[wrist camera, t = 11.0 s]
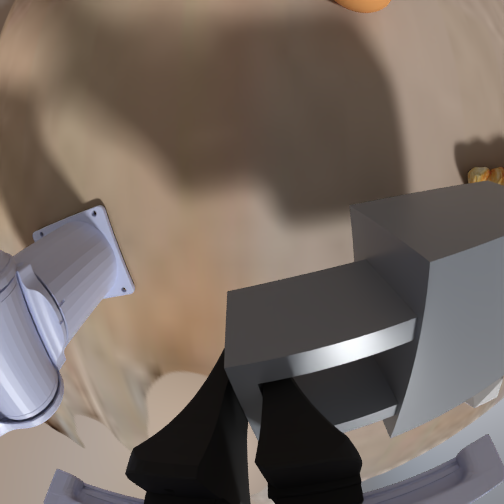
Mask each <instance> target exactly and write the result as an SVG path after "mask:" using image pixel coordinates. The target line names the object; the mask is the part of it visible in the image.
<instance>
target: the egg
mask: <svg viewBox="0 0 504 504" xmlns="http://www.w3.org/2000/svg"><path fill="white" fill-rule="evenodd" d="M335 1H336V2H337V3H338V4H340V5H341V6H343V7H345V8H347V9H349V10H352V11H355V12H360V13H371V12H376V11H379V10H381V9H383V8H384V7H386V6H387V5H388V4H389V3H390V1H391V0H335Z"/></svg>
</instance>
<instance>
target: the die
mask: <svg viewBox="0 0 504 504" xmlns="http://www.w3.org/2000/svg"><path fill="white" fill-rule="evenodd" d="M503 376H504V375H503ZM503 376H502V377H501V378H499V379H498V380H497V381H495V382H494V383H492V384H491V385H489V386H488V387H487V388H485V389H484V390H482V391H481V392H479V393H478V394H476V395H474V396H473V397H471V398H470V399H468V400H466V401H465V403H466V404H468V405H470V406H472V407H473V408H476V407H478V406H480V405H482V404H484V403H486V402H488V401H490V400H492V399H494V398H496V397H497V395H498V392H499V389H500V386H501V383H502V380H503Z"/></svg>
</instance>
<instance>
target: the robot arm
mask: <svg viewBox="0 0 504 504" xmlns="http://www.w3.org/2000/svg"><path fill="white" fill-rule="evenodd" d="M94 211H96V214H97V215H95V214H94ZM42 233H43V234H42ZM33 239H34V243H33V244H31V245H29V246H28V247H26V248H25V249H23V250H22V251H20V252H19V253H17V254H16V255H14V256H12V255H10V254H8V253H5V252H4V251H2V250H0V436H2V435H4V434H5V433H7V432H9V431H11V430H15V429H22V428H31V427H35V426H37V425H40V424H42V423H43V422H45V421H46V420H48V419H49V418H50V417H51V416H52V415H53V414H54V413H55V411H56V410H57V409H58V407H59V405H60V403H61V401H62V398H63V394H64V383H63V379H62V376H61V374H60V372H59V370H60V368H61V367H62V365H63V364H64V362H65V361H66V358H65V355H64V349H65V347H66V346H67V344H68V343H69V342H70V340H71V339H72V338H73V336H74V335H75V334H76V332H77V331H78V330H79V328H80V327H81V326H82V324H83V323H84V322H85V320H86V319H87V318H88V317H89V315H90V314H91V313H92V311H93V310H94V309H95V308H96V306H97V305H98V304H99V303H100V301H101V300H102V299H104V298H110V297H116V296H121V295H127V294H131V293H133V292H134V290H135V286H134V284H133V282H132V279H131V277H130V275H129V272H128V270H127V267H126V265H125V262H124V260H123V257H122V255H121V252H120V249H119V247H118V244H117V241H116V239H115V236H114V233H113V230H112V228H111V225H110V222H109V219H108V216H107V213H106V210H105V208H104V207H103V206H102V205H98V206H95V207H93V208H90V209H87V210H85V211H82V212H80V213H77V214H75V215H72V216H70V217H67V218H65V219H62V220H60V221H58V222H55V223H53V224H51V225H48V226H46V227H44V228H42V229H39V230H37V231H35V232H34V233H33ZM123 287H124V288H125V289H126V290H124V289H123ZM224 356H225V348H224V350H223V352H222V354H221V356H220V357H219V359H218V361H217V363H216V365H215V366H214V368H213V370H212V371H211V373H210V375H209V376H208V378H207V380H206V381H205V382H204V384H203V385H202V387H201V388H200V390H199V391H198V392H197V394H196V395H195V396H194V398H193V399H192V400H191V401H190V402H189V404H188V405H187V406H186V407H185V408H184V409H183V410H182V411H181V412H180V413H179V414H178V415H177V416H176V417H175V418H174V419H173V420H172V421H171V422H170V423H169V424H168V425H167V426H165V427H164V428H163V429H162V430H160V431H159V432H158V433H156V434H155V435H154V436H152V437H151V438H149V439H148V440H146V441H144V442H143V443H141V444H140V445H138V446H136V447H135V448H133V451H132V453H131V456H130V459H129V462H128V466H127V469H126V473H125V474H126V476H127V477H128V479H130V480H131V481H132V482H133V483H135V484H136V485H138V486H139V487H141V488H142V489H144V490H145V491H146V495H145V500H143V499H138V498H134V497H130V496H125V495H122V494H118V493H115V492H111V491H108V490H104V489H101V488H98V487H95V486H92V485H89V484H86V483H84V482H83V481H81V480H80V479H79V478H77V477H76V476H74V475H72V474H70V473H67V472H65V471H62V470H60V469H57V470H56V472H55V474H54V477H53V479H52V482H51V484H50V487H49V489H48V492H47V494H46V497H45V500H44V504H250V493H249V479H248V462H247V429H248V419H247V417H246V415H245V413H244V411H243V409H242V407H241V405H240V402H239V400H238V398H237V396H236V394H235V392H234V389H233V387H232V385H231V383H230V380H229V378H228V376H227V374H226V371H225V369H224ZM255 463H256V465H257V466H258V468H259V470H260V471H261V473H262V474H263V476H264V478H265V479H266V481H267V482H268V498H269V499H272V500H273V502H274V503H275V504H470V503H472V502H474V501H475V500H477V499H479V498H480V497H482V496H483V495H485V494H486V493H488V492H489V491H491V490H492V489H493V488H495V487H496V486H498V485H499V484H500V483H502V482H503V481H504V465H503V463H502V461H501V459H500V457H499V454H498V452H497V450H496V448H495V446H494V444H493V442H492V440H491V438H490V436H489V434H487V435H485V436H483V437H481V438H480V439H478V440H476V441H475V442H473V443H471V444H470V445H468V446H466V447H465V448H464V449H462V450H461V451H460V452H459V453H458V455H457V456H456V457H455V458H453V459H451V460H449V461H447V462H445V463H443V464H441V465H439V466H437V467H435V468H433V469H430V470H428V471H426V472H423V473H421V474H419V475H416V476H414V477H411V478H409V479H406V480H403V481H401V482H398V483H395V484H392V485H389V486H386V487H383V488H380V489H377V490H374V491H370V492H367V493H362V488H361V477H360V470H361V467H362V460H361V457H360V455H359V453H358V451H357V449H356V448H355V446H354V445H353V444H352V442H351V441H350V439H349V438H348V437H347V436H346V435H345V434H344V433H342V432H341V431H340V430H339V429H337V428H336V427H335V426H334V425H333V424H332V423H330V422H329V421H328V420H327V419H326V418H325V417H324V416H323V415H322V414H321V413H320V412H319V411H318V410H317V409H316V408H315V406H314V405H313V404H312V403H311V402H310V401H309V400H308V398H307V397H306V396H305V394H304V393H303V392H302V391H301V389H300V388H299V386H298V385H297V383H296V382H295V380H294V379H293V377H290V378H286V379H281V380H276V381H271V382H266V383H263V402H262V415H261V426H260V434H259V441H258V447H257V453H256V458H255Z"/></svg>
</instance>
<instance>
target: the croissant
mask: <svg viewBox="0 0 504 504" xmlns="http://www.w3.org/2000/svg"><path fill="white" fill-rule="evenodd" d="M487 180H488V181H491V182H494V183H497V184H500V185H503V186H504V168H503V167H497V168H493V169H491V170H489V169H488V168H487V167H479V168H478V167H474V168H472V170H470V171H469V172H468V183H474V182H481V181H487Z"/></svg>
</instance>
